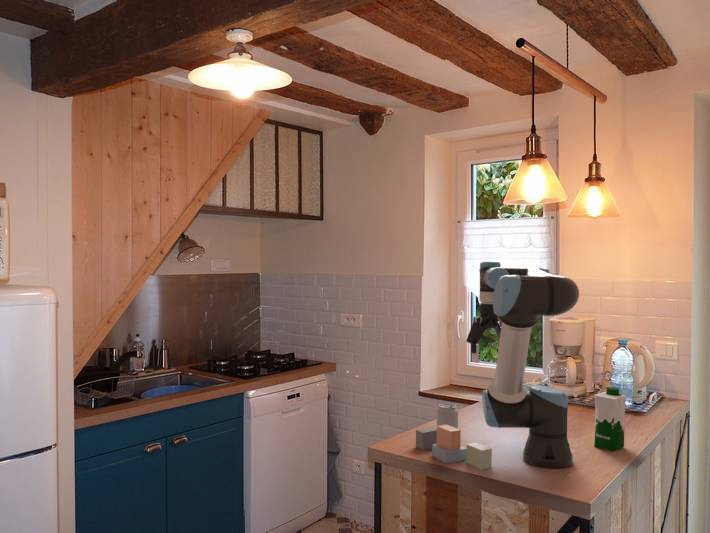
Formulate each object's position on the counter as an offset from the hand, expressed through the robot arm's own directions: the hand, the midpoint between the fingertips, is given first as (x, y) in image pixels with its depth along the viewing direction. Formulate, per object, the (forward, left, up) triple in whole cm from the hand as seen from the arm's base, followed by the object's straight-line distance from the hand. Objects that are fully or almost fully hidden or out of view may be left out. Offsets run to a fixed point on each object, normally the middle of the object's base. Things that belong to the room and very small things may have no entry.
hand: (489, 360), depth 222 cm
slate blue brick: (-14, +31, -27) cm, 43 cm away
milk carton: (-34, -24, -27) cm, 49 cm away
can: (+2, +18, -27) cm, 32 cm away
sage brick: (-24, +27, -27) cm, 45 cm away
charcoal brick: (-2, +30, -27) cm, 40 cm away
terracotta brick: (-14, +31, -23) cm, 41 cm away
